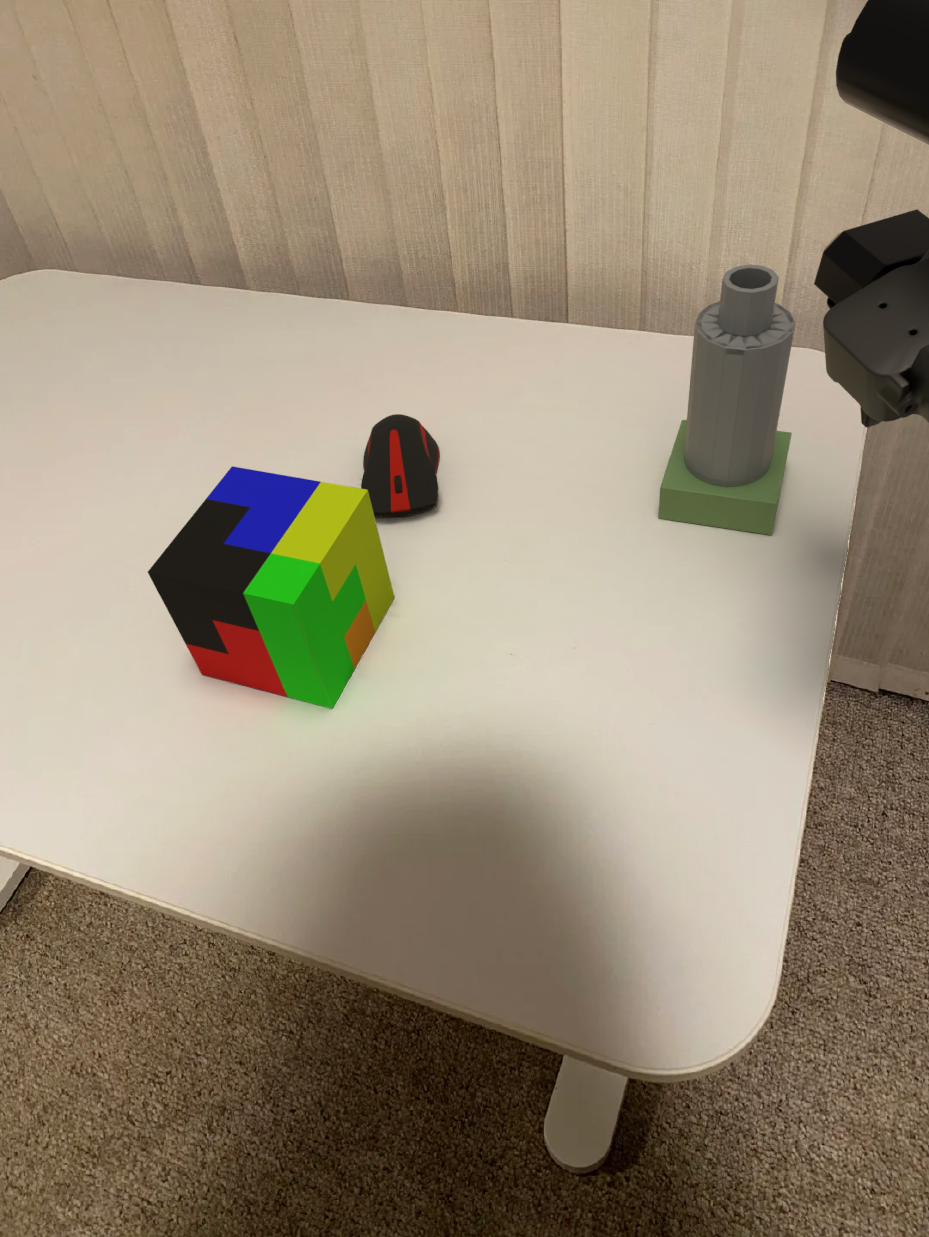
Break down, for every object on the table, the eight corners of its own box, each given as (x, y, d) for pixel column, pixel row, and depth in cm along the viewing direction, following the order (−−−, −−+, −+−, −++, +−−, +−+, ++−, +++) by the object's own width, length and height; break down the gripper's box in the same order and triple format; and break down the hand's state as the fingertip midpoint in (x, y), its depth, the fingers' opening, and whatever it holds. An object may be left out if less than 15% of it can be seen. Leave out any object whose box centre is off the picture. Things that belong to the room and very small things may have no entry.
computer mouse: (362, 529, 70) (351, 488, 67) (363, 440, 78) (354, 401, 75) (444, 518, 70) (437, 478, 67) (438, 431, 77) (431, 391, 74)
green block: (771, 535, 65) (777, 503, 63) (658, 518, 67) (660, 487, 65) (785, 464, 70) (792, 432, 68) (679, 450, 72) (681, 419, 70)
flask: (762, 493, 64) (793, 309, 53) (675, 479, 66) (689, 299, 55) (777, 440, 67) (809, 257, 57) (694, 428, 69) (711, 249, 59)
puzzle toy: (272, 571, 68) (231, 466, 61) (394, 597, 65) (367, 489, 58) (201, 674, 62) (147, 572, 55) (332, 708, 59) (293, 604, 52)
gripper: (756, 142, 41) (701, 413, 53) (1068, 399, 30) (908, 661, 43) (967, 85, 43) (865, 360, 55) (1328, 308, 32) (1101, 584, 45)
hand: (923, 477), depth 49 cm, fingers open, 9 cm apart
